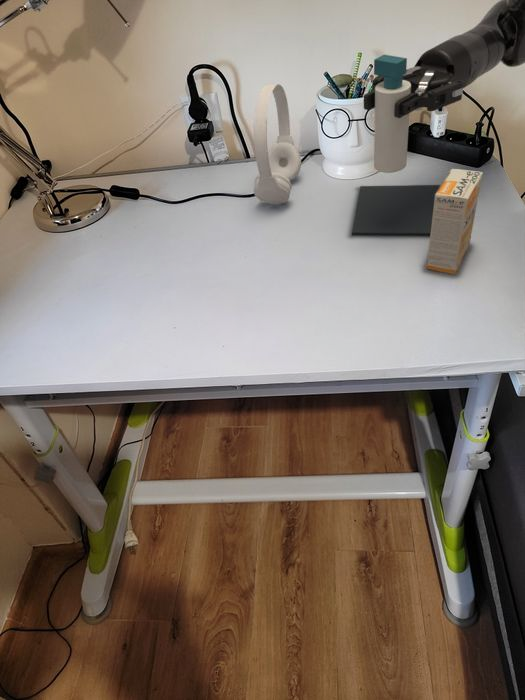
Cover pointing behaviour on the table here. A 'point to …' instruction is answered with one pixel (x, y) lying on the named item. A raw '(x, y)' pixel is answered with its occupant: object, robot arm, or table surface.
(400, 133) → the spray bottle
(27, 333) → the table surface
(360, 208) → the mat
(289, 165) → the headphones
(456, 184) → the supplement box
